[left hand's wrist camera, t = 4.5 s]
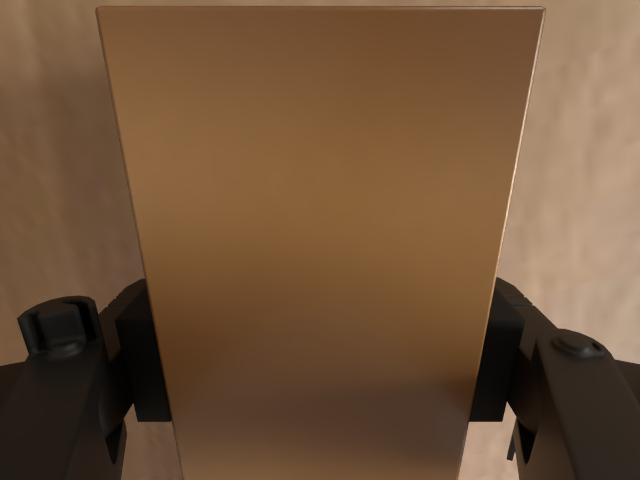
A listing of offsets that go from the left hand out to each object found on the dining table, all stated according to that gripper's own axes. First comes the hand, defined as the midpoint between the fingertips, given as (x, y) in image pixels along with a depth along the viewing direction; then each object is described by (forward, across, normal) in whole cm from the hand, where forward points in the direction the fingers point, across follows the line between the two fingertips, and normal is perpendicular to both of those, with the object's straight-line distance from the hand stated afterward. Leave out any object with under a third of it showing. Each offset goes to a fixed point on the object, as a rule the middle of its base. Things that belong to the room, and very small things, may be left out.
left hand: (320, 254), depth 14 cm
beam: (+1, 0, -21) cm, 21 cm away
